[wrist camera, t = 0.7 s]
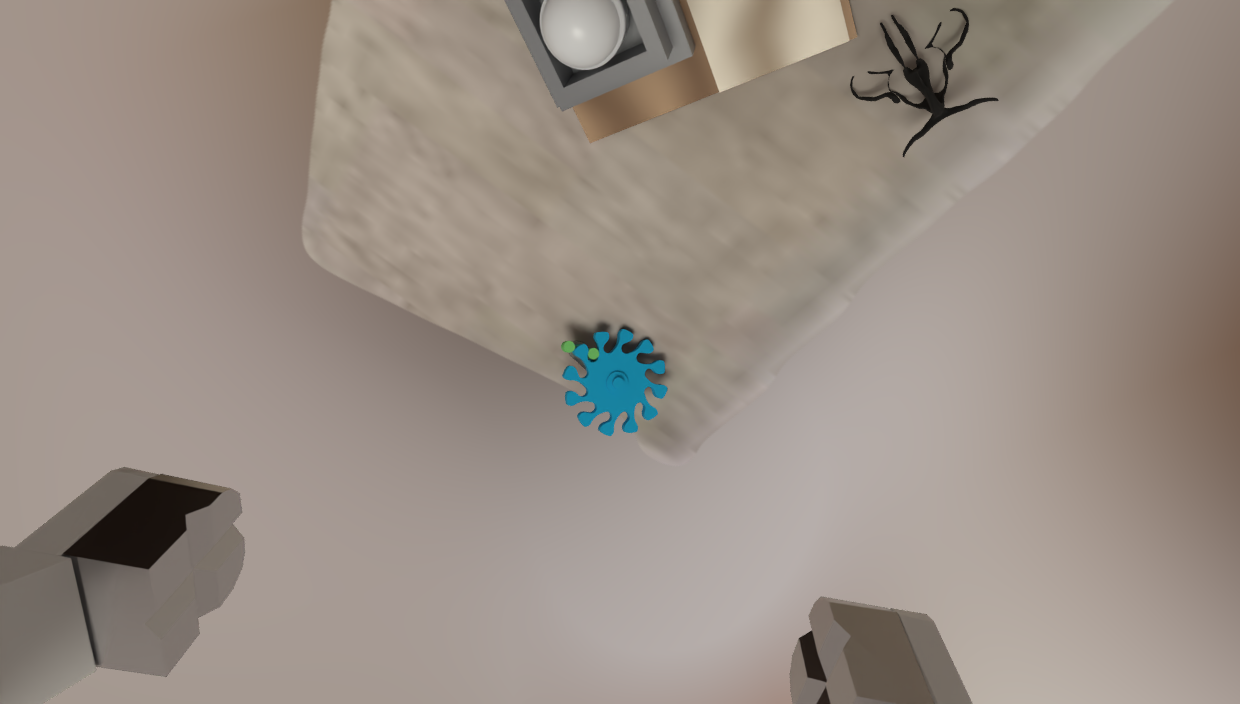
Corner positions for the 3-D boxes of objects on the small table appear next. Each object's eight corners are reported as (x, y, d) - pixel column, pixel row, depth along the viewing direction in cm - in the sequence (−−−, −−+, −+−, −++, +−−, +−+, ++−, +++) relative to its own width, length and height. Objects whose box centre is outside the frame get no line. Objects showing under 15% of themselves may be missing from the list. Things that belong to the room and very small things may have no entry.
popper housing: (638, -117, 41) (622, -107, 37) (696, 43, 47) (688, 69, 42) (504, -43, 45) (474, -26, 41) (571, 97, 50) (551, 126, 46)
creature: (831, 56, 47) (889, 152, 49) (828, 64, 42) (891, 170, 44) (943, -24, 43) (1002, 84, 45) (952, -25, 38) (1017, 95, 40)
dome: (608, -46, 40) (592, -32, 37) (642, 39, 43) (630, 61, 39) (535, -9, 42) (513, 9, 39) (572, 71, 45) (554, 94, 41)
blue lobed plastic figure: (690, 377, 64) (622, 459, 62) (669, 374, 69) (606, 449, 68) (606, 298, 61) (533, 380, 60) (591, 301, 67) (524, 377, 65)
